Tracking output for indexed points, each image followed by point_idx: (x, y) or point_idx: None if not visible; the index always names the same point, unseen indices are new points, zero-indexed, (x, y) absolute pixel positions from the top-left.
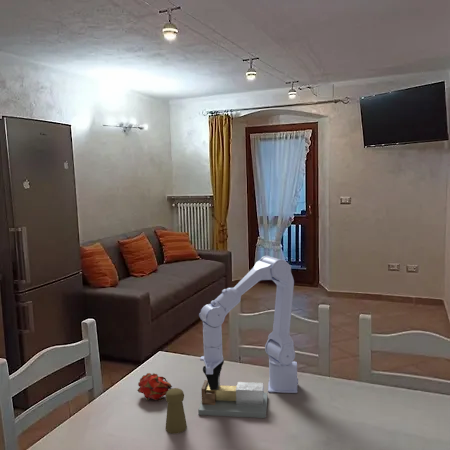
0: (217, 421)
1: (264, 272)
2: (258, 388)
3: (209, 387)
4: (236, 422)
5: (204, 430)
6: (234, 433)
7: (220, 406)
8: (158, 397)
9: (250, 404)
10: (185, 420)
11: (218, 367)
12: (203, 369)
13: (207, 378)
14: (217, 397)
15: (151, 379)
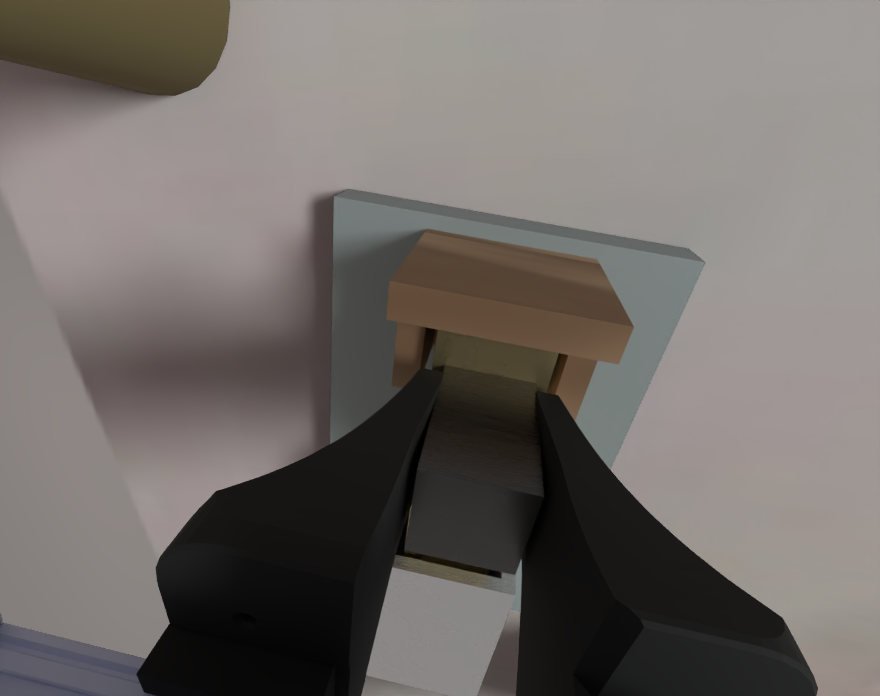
0: (278, 325)
1: None
2: (393, 667)
3: (492, 357)
4: (283, 424)
5: (163, 240)
6: (181, 403)
7: (391, 371)
8: None
9: None
10: (113, 83)
11: (526, 666)
12: (167, 550)
13: (340, 441)
14: None
15: None
